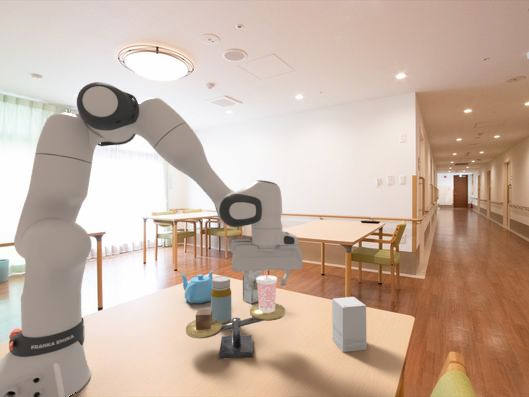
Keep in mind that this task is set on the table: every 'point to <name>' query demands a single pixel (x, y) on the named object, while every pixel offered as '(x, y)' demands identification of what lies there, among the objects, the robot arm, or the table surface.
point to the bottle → (221, 299)
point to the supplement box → (349, 324)
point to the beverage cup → (266, 292)
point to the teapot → (198, 288)
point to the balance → (235, 332)
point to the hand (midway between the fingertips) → (267, 285)
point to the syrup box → (251, 292)
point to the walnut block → (203, 319)
